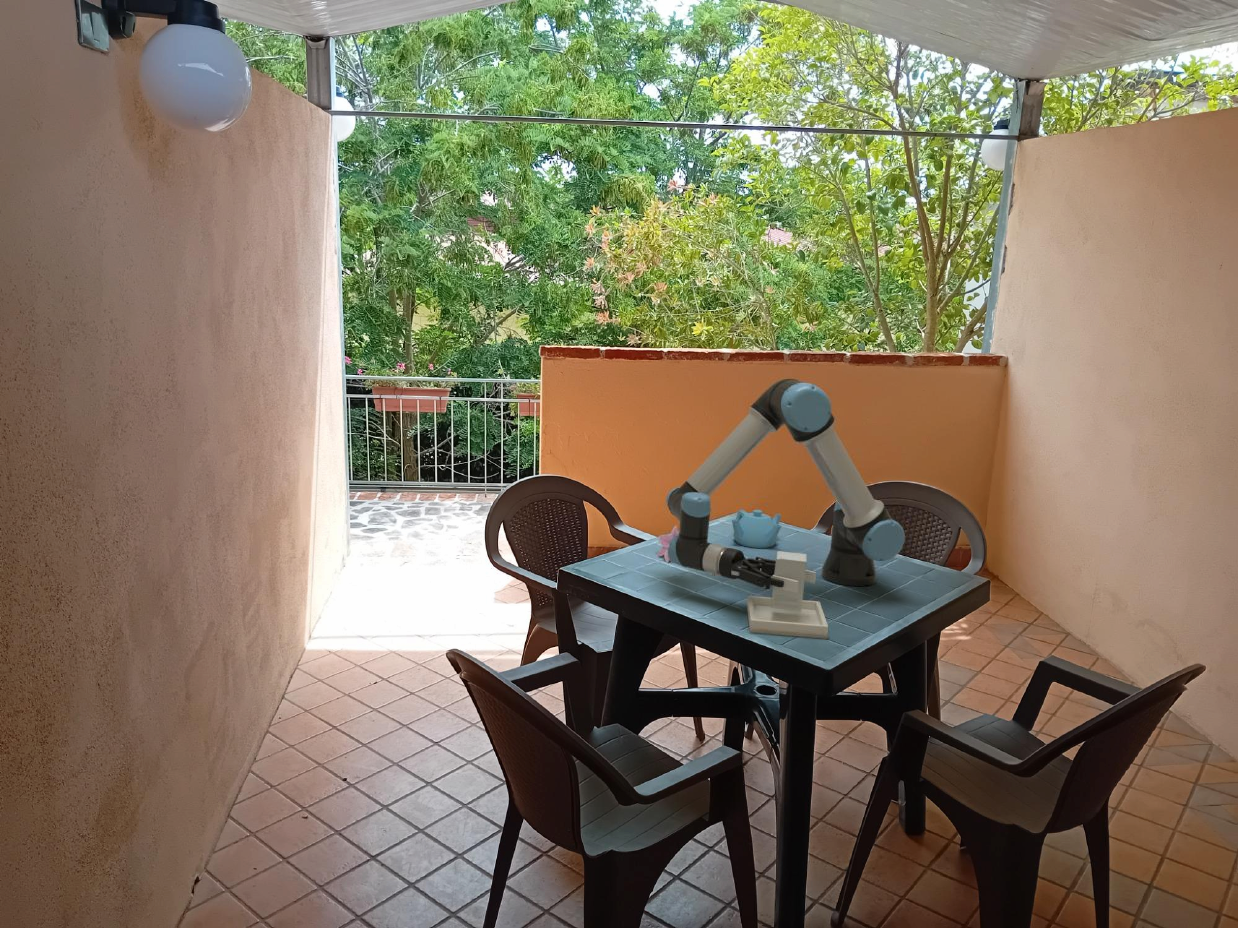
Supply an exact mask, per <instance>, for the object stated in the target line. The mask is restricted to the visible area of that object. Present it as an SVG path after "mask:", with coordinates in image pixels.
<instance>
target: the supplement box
mask: <svg viewBox="0 0 1238 928" xmlns="http://www.w3.org/2000/svg"><path fill="white" fill-rule="evenodd" d="M775 557H776V559H775V561H776V564H775V572H774V574H773V575H776V576H780V577H784V578H788V579H792V580H796V581H799V582H798V591H797V593H795V592H791V591H787V590H783V589H779V588H776V587H772V591H771V592H772V594H771V598H772V601H771V608H776V609H783V610H790V611H798V612H801V608H802V600H804V589H805V582H806V581H805V573H806V570H807V563H808V561H807V557H808V556H807V553H800V552H788V551H782V550H781V551H779V550H778V551H776V556H775Z"/></svg>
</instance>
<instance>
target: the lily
mask: <svg viewBox="0 0 1238 928" xmlns="http://www.w3.org/2000/svg"><path fill="white" fill-rule="evenodd" d="M675 536H679V530H678V527H677V525H674V527H673V528H672V530H671V532H670V534H669V533H667V534H665V533H664V534H661V535H659V536H657V540H658V542H659V544H660V545H661V546H662V548H661V549H660V550H659V551H658V553H657V555H656V558H659V557H661V556H663V555H664V562H665V563H666V564H668V563H669V561H670V559H669V557H668V547H669V545H670V541H671V540H672V538H673V537H675Z"/></svg>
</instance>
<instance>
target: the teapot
mask: <svg viewBox="0 0 1238 928" xmlns="http://www.w3.org/2000/svg"><path fill="white" fill-rule="evenodd" d="M752 511H753V512H747V511H745V510H744V509H739V510H738V511H737V514H736V518H735V519H732V520H731V523H732V524H731V525H732V529H733V538H734V540H735V542H736V543H737V544H738V543H739V544H738V545H741V546H743V547H746V546H747V547H746V548H752V549H768V548H771V547H773V546H775V544H777V542H778V540H779V539H778V537H779V536H778V534H779V532H780V531H781V528H782V525H780V520H781V517H782V515H781V514H779V513H777V514H776V513H775V514H774V516H773V517H771V516H770V515H768V514H765V513H763V511H762V510H761V509H754V510H752Z"/></svg>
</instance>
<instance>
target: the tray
mask: <svg viewBox="0 0 1238 928" xmlns="http://www.w3.org/2000/svg"><path fill="white" fill-rule="evenodd" d="M771 601H772V596H771V597H769V596H758V595H757V596H756V595H747V601H746V603H747V604H746V610H747V611H746V612H747V620H748V629H749V633H753V634H755V633H756V634H763V635H764V634H765V635H777V636H787V637H788V636H789V637H800V638H810V639H811V638H812V639H813V638H814V639H823V640H824V639H825V640H827V639H828V632H829V626H828V622H827V620H826V616H825V614H824V611H823V607H822V605H821V602H820V601H816V600H804V599H803V600H802V608H801V612H798V611H790V610H783V609H776V608H771Z"/></svg>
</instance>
